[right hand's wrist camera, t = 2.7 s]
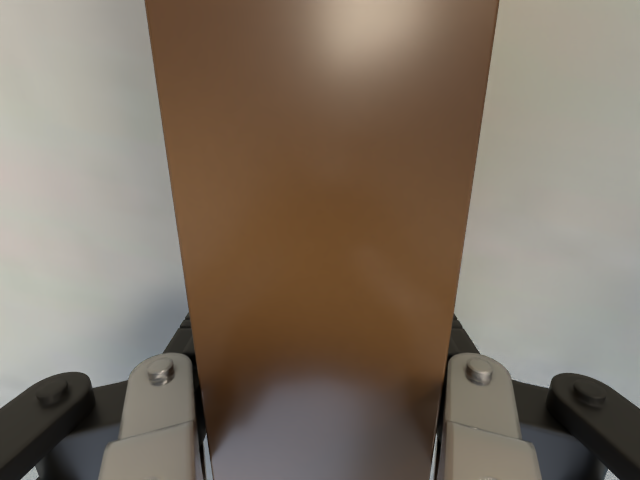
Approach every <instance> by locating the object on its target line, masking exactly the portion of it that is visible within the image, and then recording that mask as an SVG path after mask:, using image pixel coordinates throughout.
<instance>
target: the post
mask: <svg viewBox="0 0 640 480" xmlns="http://www.w3.org/2000/svg"><path fill="white" fill-rule="evenodd" d="M498 6H499V0H145V7H146V14H147V21H148V28H149V35H150V42H151V49H152V56H153V63H154V70H155V77H156V84H157V91H158V98H159V105H160V112H161V119H162V126H163V133H164V140H165V147H166V154H167V161H168V168H169V175H170V182H171V189H172V196H173V203H174V210H175V217H176V224H177V231H178V238H179V244H180V251H181V258H182V265H183V272H184V279H185V286H186V293H187V300H188V307H189V314H190V321H191V328H192V335H193V342H194V349H195V356H196V363H197V370H198V377H199V384H200V391H201V398H202V405H203V412H204V419H205V426H206V433H207V440H208V447H209V454H210V461H211V468H212V475H213V480H429V478H430V471H431V465H432V458H433V451H434V444H435V437H436V430H437V424H438V417H439V410H440V403H441V396H442V389H443V383H444V376H445V369H446V362H447V355H448V348H449V342H450V335H451V328H452V321H453V314H454V307H455V300H456V294H457V287H458V280H459V273H460V266H461V259H462V253H463V246H464V239H465V232H466V225H467V218H468V212H469V205H470V198H471V191H472V184H473V177H474V171H475V164H476V157H477V150H478V143H479V136H480V129H481V123H482V116H483V109H484V102H485V95H486V88H487V82H488V75H489V68H490V61H491V54H492V47H493V41H494V34H495V27H496V20H497V13H498Z"/></svg>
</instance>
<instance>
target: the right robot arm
mask: <svg viewBox="0 0 640 480" xmlns="http://www.w3.org/2000/svg"><path fill="white" fill-rule="evenodd" d="M436 433H437V442H436V449H435V461H434V474H433V480H604V478H605V475H606V473H607V470H608V469H609V470H610V471H611V472H612V473H613V474H614V475H615V476H616V477H617V478H618V479H620V480H640V409H639V408H638V407H637V406H635V405H634V404H633V403H631V402H630V401H629V400H627V399H626V398H624V397H623V396H622V395H620V394H619V393H618V392H616V391H615V390H613V389H612V388H610V387H609V386H607V385H606V384H604V383H602V382H600V381H598V380H596V379H593V378H590V377H587V376H584V375H580V374H574V373H561V374H558V375H556V376H554V377H553V378H552V380H551V384H550V387H549V388H544V387H539V386H535V385H530V384H526V383H522V382H518V381H515V380H512V379H511V376H510V374H509V372H508V370H507V369H506V368H505V367H504V366H503V365H502V364H500V363H499V362H497V361H496V360H494V359H492V358H490V357H487V356H484V355H481V354H480V353H479V351H478V350H477V348H476V347H475V345H474V344H473V342H472V341H471V339H470V338H469V336H468V334H467V333H466V331H465V330H464V329H463V328H462V325H461V324H460V322H459V321H458V320H457V317H456V316H455V314H453V321H452V328H451V335H450V342H449V348H448V355H447V362H446V369H445V376H444V383H443V389H442V396H441V403H440V410H439V417H438V424H437V430H436ZM205 435H206V426H205V419H204V412H203V405H202V398H201V391H200V384H199V377H198V370H197V363H196V356H195V349H194V342H193V335H192V328H191V321H190V314H189V313H188V314H187V316H186V317H185V320H184V321H183V322H182V324H181V325H180V328H178V330H177V332H176V333H175V335H174V336H173V338H172V339H171V341H170V343H169V344H168V346H167V347H166V349H165V350H164V352H163V354H159V355H156V356H153V357H150V358H148V359H146V360H144V361H143V362H141V363H140V364H138V365H137V366H136V367H135V368H134V369H133V371H132V372H131V374H130V376H129V379H128V380H126V381H123V382H119V383H114V384H110V385H105V386H100V387H96V388H92V385H91V381H90V378H89V377H88V376H87V375H86V374H84V373H80V372H66V373H61V374H57V375H54V376H51V377H48V378H46V379H43V380H41V381H39V382H37V383H36V384H34V385H32V386H31V387H29V388H28V389H27V390H25V391H24V392H22V393H21V394H20V395H18V396H17V397H16V398H14V399H13V400H12V401H10V402H9V403H7V404H6V405H5V406H3V407H2V408H1V409H0V480H20V479H22V478H23V477H24V476H25V475H26V474H27V473H28V472H29V471H30V470H31V469H32V468H33V467H34V466H35V467H36V469H37V472H38V475H39V477H38V478H37V479H36V480H207V474H206V461H205V449H204V442H203V440H204V438H205Z"/></svg>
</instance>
